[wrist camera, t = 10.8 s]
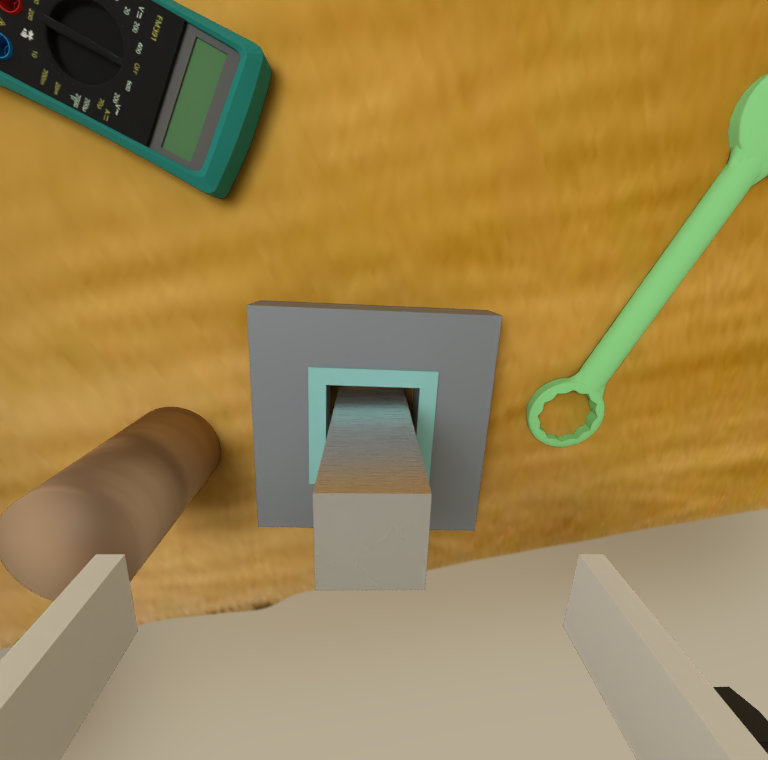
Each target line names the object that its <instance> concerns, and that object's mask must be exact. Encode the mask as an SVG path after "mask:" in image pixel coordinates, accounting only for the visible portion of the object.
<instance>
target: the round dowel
mask: <svg viewBox="0 0 768 760" xmlns="http://www.w3.org/2000/svg"><path fill="white" fill-rule="evenodd" d="M219 459H220V443H219V440H218V437H217V435H216V433H215V431H214V429H213V428H212V427H211V426H210V424H209V423H208V422H207V421H206V420H205V419H203V418H202V417H201V416H199V415H197V414H196V413H194V412H192V411H189V410H186V409H183V408H178V407H164V408H159V409H155V410H153V411H151V412H149V413H147V414H146V415H144V416H143V417H141V418H140V419H138V420H137V421H135V422H134V423H132V424H131V425H129V426H128V427H126V428H125V429H123V430H122V431H120V432H119V433H117V434H116V435H114V436H113V437H111V438H110V439H108V440H107V441H105V442H104V443H102V444H101V445H99V446H98V447H96V448H95V449H93V450H92V451H90V452H89V453H87V454H86V455H84V456H83V457H82V458H80V459H79V460H77V461H76V462H74V463H73V464H71V465H70V466H68V467H67V468H65V469H64V470H62V471H61V472H59V473H58V474H56V475H55V476H53V477H52V478H50V479H49V480H47V481H46V482H44V483H43V484H41V485H40V486H38V487H37V488H35V489H34V490H32V491H31V492H29V493H28V494H26V495H25V496H23V497H22V498H20V499H19V500H17V501H16V502H14V503H13V504H12V505H10V506H9V507H8V508H7V509H6V510H5V512H4V513H3V514H2V516H1V518H0V559H1V561H2V563H3V565H4V566H5V568H6V569H7V570H8V572H9V573H10V574H11V575H12V576H13V577H14V578H15V579H16V580H17V581H18V582H19V583H20V584H21V585H23V586H24V587H25V588H27V589H28V590H30V591H32V592H33V593H35V594H37V595H39V596H41V597H44V598H46V599H49V600H52V601H54V600H55V599H56V598H57V597H58V596H59V595H60V594H61V593H62V592H63V590H64V589H65V588H66V587H67V586H68V585H69V584H70V583H71V582H72V580H73V579H74V578H75V577H76V576H77V575H78V574H79V573H80V572H81V570H82V569H83V568H84V567H85V566H86V565H87V564H88V563H89V562H90V560H91V559H92V558H93V557H94V556H95V555H96V554H125V559H126V564H127V570H128V576H129V582H130V581H131V580H132V578H133V577H134V576H135V575H136V573H137V572H138V571H139V569H140V568H141V567H142V565H143V564H144V563H145V561H146V560H147V559H148V557H149V556H150V555H151V553H152V552H153V551H154V549H155V548H156V547H157V546H158V544H159V543H160V542H161V540H162V539H163V538H164V536H165V535H166V534H167V532H168V531H169V530H170V528H171V527H172V526H173V524H174V523H175V522H176V520H177V519H178V518H179V516H180V515H181V514H182V513H183V511H184V510H185V509H186V507H187V506H188V505H189V503H190V502H191V501H192V499H193V498H194V497H195V495H196V494H197V493H198V491H199V490H200V489H201V487H202V486H203V485H204V484H205V482H206V481H207V480H208V478H209V477H210V476H211V474H212V473H213V472H214V470H215V469H216V467H217V465H218V463H219Z"/></svg>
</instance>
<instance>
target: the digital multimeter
mask: <svg viewBox="0 0 768 760" xmlns="http://www.w3.org/2000/svg"><path fill="white" fill-rule="evenodd" d="M103 1H104V2H103ZM52 64H53V65H52ZM271 72H272V71H271V68H270V65H269V63H268V62H267V60H266V58H265V56H264V54H263V52H262V50H261V48H260V47H259V46H258V45H257V44H256V43H254V42H252V41H250V40H248V39H246V38H244V37H242V36H240V35H238V34H236V33H234V32H232V31H231V30H229V29H227V28H225V27H223V26H221V25H219V24H217V23H215V22H213V21H211V20H209V19H207V18H205V17H204V16H202V15H200V14H198V13H196V12H194V11H192V10H190V9H188V8H186V7H184V6H182V5H180V4H178V3H177V2H175V1H173V0H0V85H1V86H3V87H5V88H7V89H10V90H12V91H14V92H16V93H18V94H20V95H23V96H25V97H27V98H29V99H31V100H33V101H35V102H37V103H39V104H41V105H43V106H45V107H47V108H49V109H51V110H54V111H56V112H58V113H60V114H62V115H64V116H66V117H68V118H70V119H72V120H74V121H76V122H78V123H79V124H81V125H83V126H85V127H87V128H89V129H91V130H93V131H95V132H96V133H98V134H100V135H102V136H104V137H106V138H108V139H110V140H112V141H113V142H115V143H117V144H119V145H121V146H123V147H125V148H127V149H128V150H130V151H132V152H134V153H136V154H137V155H139V156H141V157H143V158H145V159H146V160H148V161H150V162H152V163H153V164H155V165H157V166H159V167H160V168H162V169H164V170H166V171H167V172H169V173H171V174H173V175H174V176H176V177H178V178H180V179H182V180H183V181H185V182H187V183H189V184H190V185H192V186H194V187H196V188H197V189H199V190H201V191H203V192H205V193H207V194H209V195H211V196H213V197H216V198H220V199H222V198H225V197H226V196H227V194H228V193H229V191H230V189H231V187H232V185H233V183H234V181H235V178H236V176H237V174H238V172H239V170H240V168H241V165H242V163H243V161H244V159H245V156H246V154H247V152H248V149H249V147H250V144H251V141H252V138H253V136H254V133H255V130H256V128H257V124H258V121H259V118H260V114H261V111H262V108H263V104H264V101H265V97H266V94H267V90H268V86H269V82H270V79H271ZM65 78H66V79H65ZM17 79H18V80H17Z"/></svg>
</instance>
